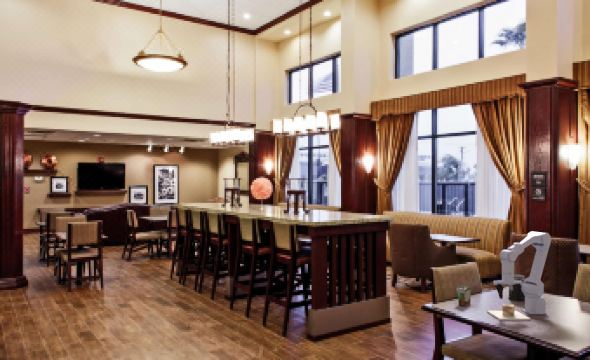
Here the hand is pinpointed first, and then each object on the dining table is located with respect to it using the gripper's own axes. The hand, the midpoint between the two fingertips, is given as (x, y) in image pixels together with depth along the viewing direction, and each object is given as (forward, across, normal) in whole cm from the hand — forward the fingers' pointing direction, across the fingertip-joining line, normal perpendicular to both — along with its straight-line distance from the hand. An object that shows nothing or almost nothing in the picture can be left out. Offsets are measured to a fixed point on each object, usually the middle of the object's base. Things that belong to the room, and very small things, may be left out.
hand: (508, 298), depth 227 cm
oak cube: (+8, 0, 0) cm, 8 cm away
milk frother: (+10, -26, -31) cm, 42 cm away
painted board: (+9, 0, 0) cm, 9 cm away
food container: (+10, +15, -23) cm, 29 cm away
